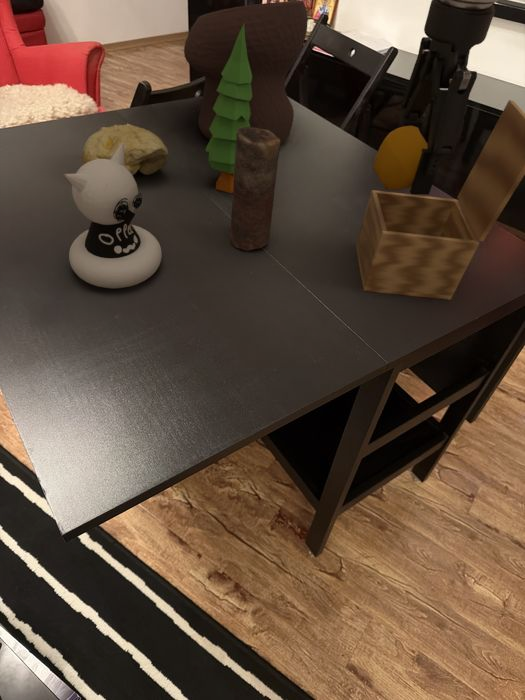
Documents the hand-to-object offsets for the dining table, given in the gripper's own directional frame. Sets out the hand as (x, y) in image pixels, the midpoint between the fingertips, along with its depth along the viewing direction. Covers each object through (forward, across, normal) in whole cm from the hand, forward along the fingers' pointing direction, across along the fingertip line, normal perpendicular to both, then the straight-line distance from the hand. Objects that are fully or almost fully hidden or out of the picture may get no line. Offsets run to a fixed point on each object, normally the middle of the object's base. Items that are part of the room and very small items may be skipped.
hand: (410, 177), depth 74 cm
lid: (-1, 0, +13) cm, 13 cm away
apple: (0, 0, -5) cm, 5 cm away
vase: (+19, -58, -22) cm, 65 cm away
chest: (+19, 0, +4) cm, 19 cm away
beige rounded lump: (+17, -31, -48) cm, 60 cm away
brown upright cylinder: (+18, -9, -24) cm, 31 cm away
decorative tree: (+18, -29, -27) cm, 44 cm away
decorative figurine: (+16, 0, -47) cm, 50 cm away
